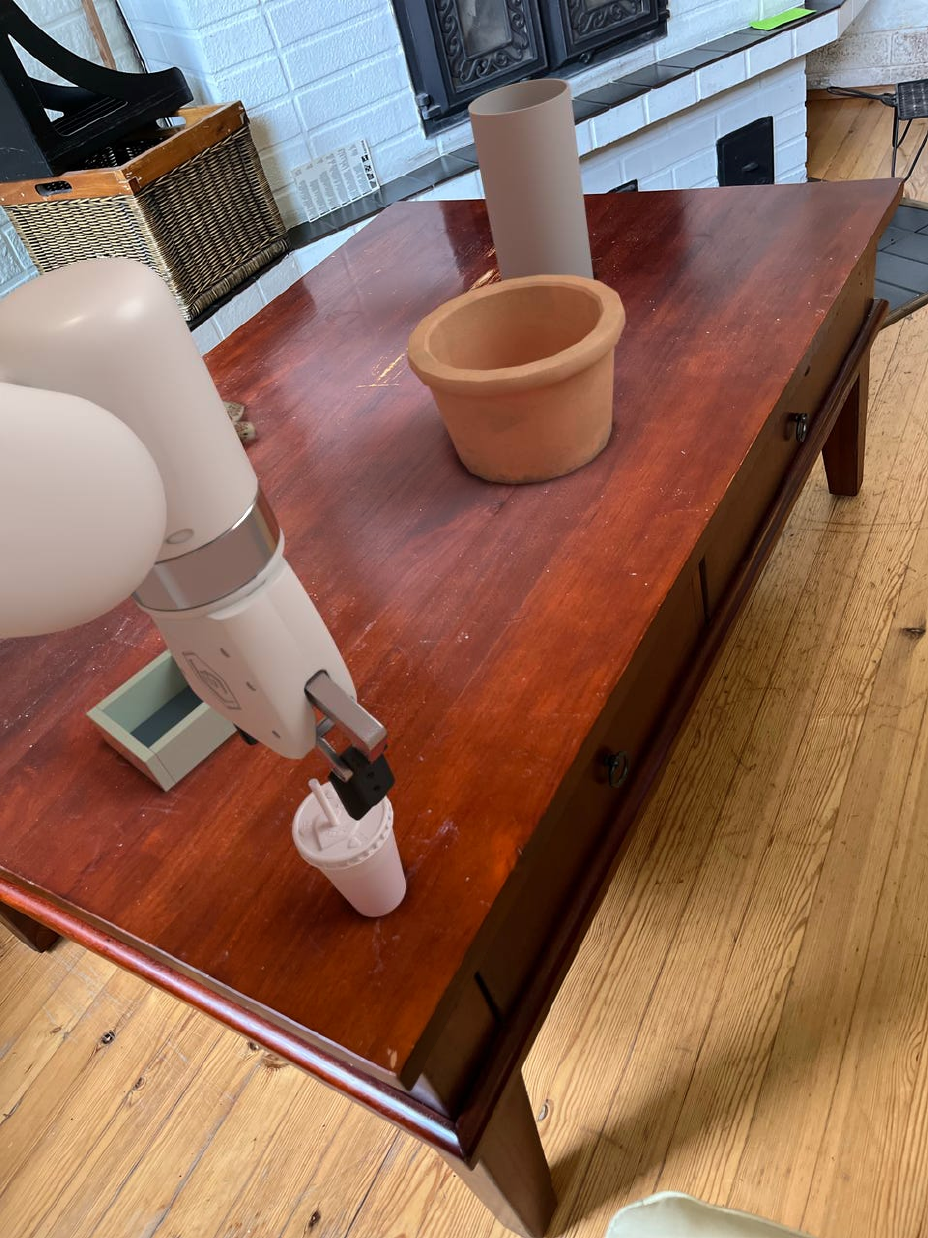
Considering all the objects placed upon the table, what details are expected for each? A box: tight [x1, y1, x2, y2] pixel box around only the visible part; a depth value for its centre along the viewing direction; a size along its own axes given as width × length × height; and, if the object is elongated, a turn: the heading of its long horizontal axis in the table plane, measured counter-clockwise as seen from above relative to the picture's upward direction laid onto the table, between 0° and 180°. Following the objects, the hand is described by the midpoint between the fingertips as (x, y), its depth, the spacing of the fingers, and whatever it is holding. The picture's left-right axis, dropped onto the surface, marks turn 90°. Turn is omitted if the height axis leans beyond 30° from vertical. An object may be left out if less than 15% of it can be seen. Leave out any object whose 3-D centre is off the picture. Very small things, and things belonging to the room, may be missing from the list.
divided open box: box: [85, 648, 237, 793], centre depth 79 cm, size 18×10×5 cm, turn 138°
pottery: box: [406, 275, 627, 485], centre depth 95 cm, size 22×22×14 cm
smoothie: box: [291, 778, 407, 918], centre depth 59 cm, size 6×6×14 cm
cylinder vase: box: [467, 78, 594, 281], centre depth 119 cm, size 12×12×25 cm
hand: (317, 762), depth 54 cm, fingers open, 9 cm apart
